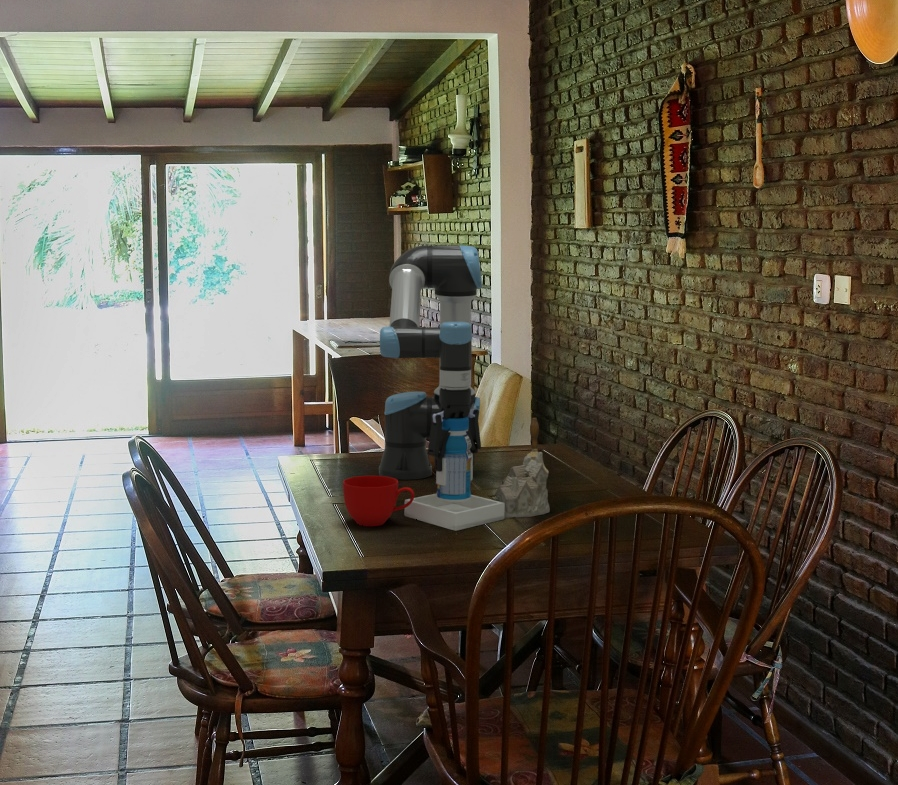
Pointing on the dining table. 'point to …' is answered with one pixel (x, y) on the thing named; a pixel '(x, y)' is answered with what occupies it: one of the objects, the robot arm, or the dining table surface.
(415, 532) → the dining table surface
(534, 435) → the hand bell
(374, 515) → the ceramic cup
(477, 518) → the tray
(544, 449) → the dining table surface
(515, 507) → the ceramic cottage
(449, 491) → the beverage bottle
